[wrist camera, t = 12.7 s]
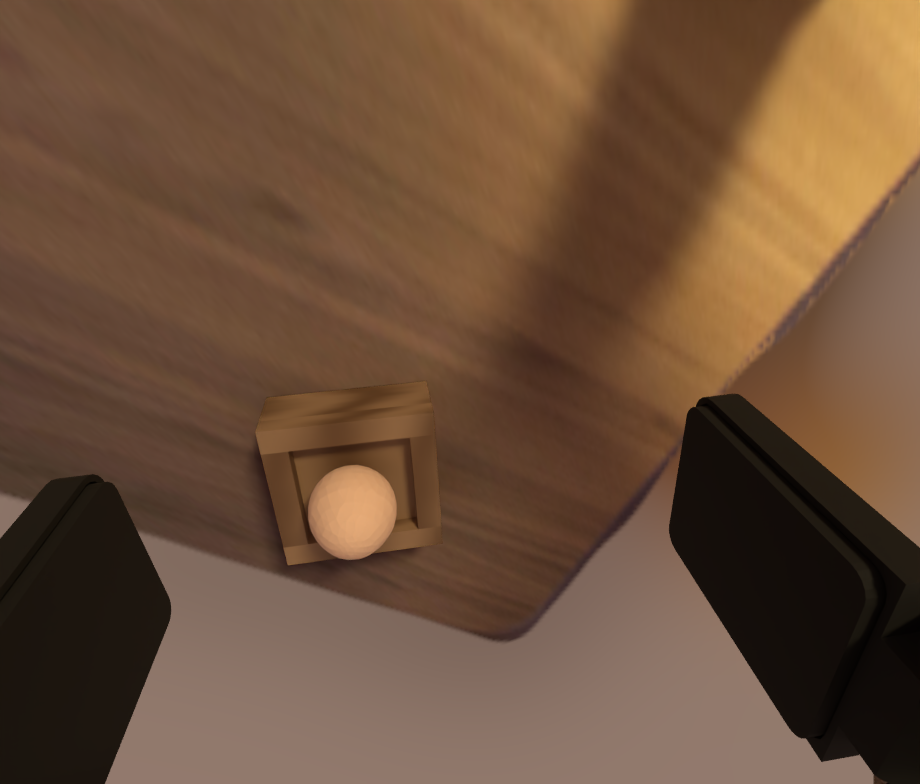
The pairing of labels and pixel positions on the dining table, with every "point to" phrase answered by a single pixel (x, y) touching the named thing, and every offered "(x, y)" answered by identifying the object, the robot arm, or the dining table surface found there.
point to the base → (352, 458)
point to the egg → (352, 511)
